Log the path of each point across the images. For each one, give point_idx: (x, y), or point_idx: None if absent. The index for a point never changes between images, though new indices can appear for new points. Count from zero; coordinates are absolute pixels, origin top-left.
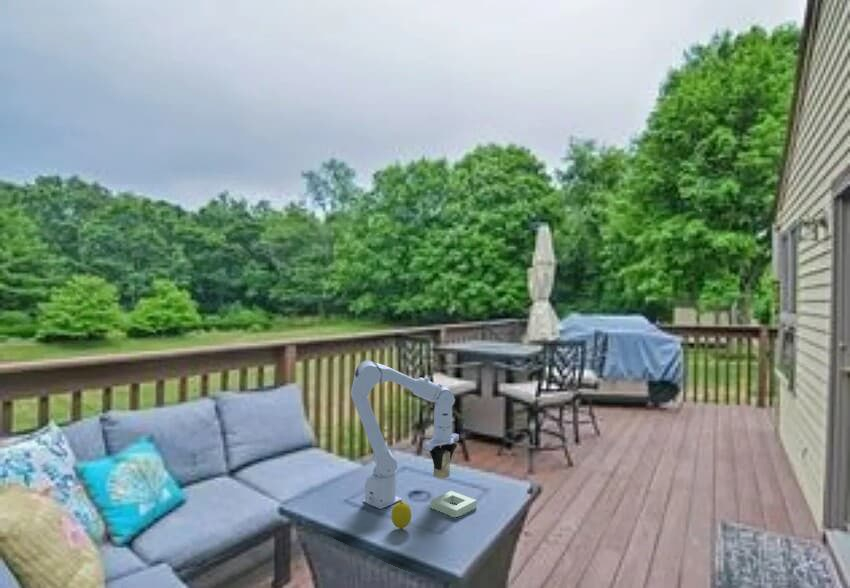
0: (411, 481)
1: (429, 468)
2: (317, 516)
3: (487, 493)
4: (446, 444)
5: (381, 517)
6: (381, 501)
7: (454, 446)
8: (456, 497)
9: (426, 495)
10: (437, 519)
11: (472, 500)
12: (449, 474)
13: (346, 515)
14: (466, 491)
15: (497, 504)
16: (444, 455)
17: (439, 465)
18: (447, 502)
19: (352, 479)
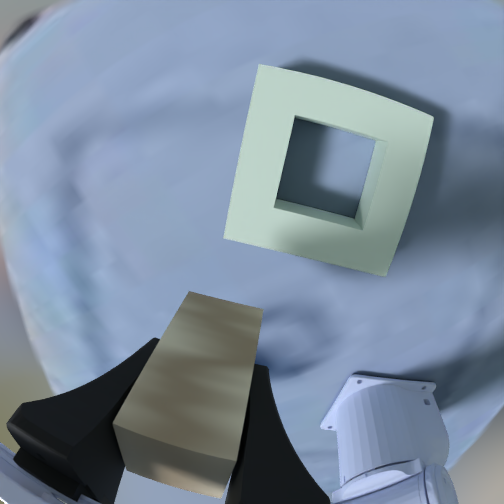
0: None
1: (80, 378)
2: (478, 433)
3: (94, 115)
4: (93, 490)
5: (478, 352)
6: (422, 401)
7: (50, 435)
8: (279, 179)
9: (264, 326)
10: (454, 190)
11: (276, 81)
12: (185, 297)
13: (473, 409)
14: (125, 200)
15: (170, 22)
16: (211, 440)
17: (270, 392)
18: (375, 192)
19: None
